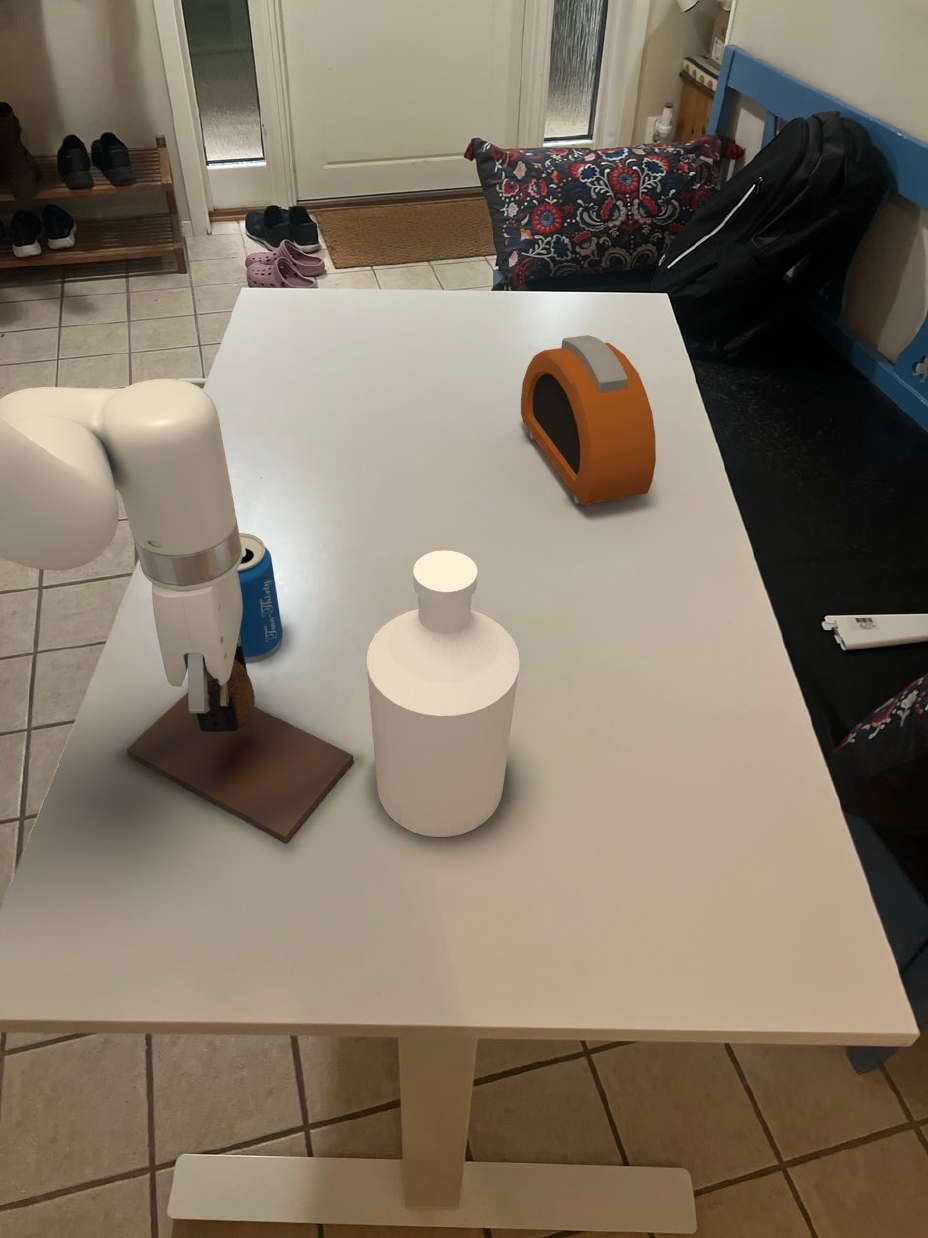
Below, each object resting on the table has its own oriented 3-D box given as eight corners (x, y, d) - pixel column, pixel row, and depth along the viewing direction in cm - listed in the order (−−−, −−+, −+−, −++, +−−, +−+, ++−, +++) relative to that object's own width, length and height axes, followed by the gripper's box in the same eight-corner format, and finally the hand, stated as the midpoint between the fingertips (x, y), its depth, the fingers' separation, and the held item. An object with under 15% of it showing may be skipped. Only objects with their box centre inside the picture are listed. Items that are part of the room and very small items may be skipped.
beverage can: (254, 672, 89) (237, 581, 81) (206, 647, 91) (185, 556, 83) (296, 634, 93) (283, 545, 85) (249, 611, 95) (232, 522, 87)
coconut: (269, 725, 81) (258, 664, 76) (221, 754, 78) (206, 693, 73) (239, 693, 84) (226, 632, 78) (190, 719, 81) (174, 658, 76)
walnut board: (128, 756, 81) (125, 749, 80) (202, 686, 87) (201, 679, 87) (286, 843, 75) (285, 837, 74) (354, 761, 81) (353, 755, 81)
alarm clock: (516, 425, 125) (525, 310, 114) (574, 416, 127) (589, 303, 116) (583, 522, 109) (602, 400, 98) (649, 510, 111) (674, 389, 100)
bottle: (427, 712, 86) (428, 501, 69) (530, 771, 81) (560, 560, 64) (346, 794, 79) (326, 581, 62) (455, 864, 74) (466, 654, 57)
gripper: (161, 479, 73) (199, 637, 85) (110, 622, 60) (163, 782, 73) (253, 479, 73) (278, 636, 86) (222, 621, 61) (256, 781, 73)
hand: (225, 702), depth 79 cm, fingers closed on coconut, 5 cm apart
